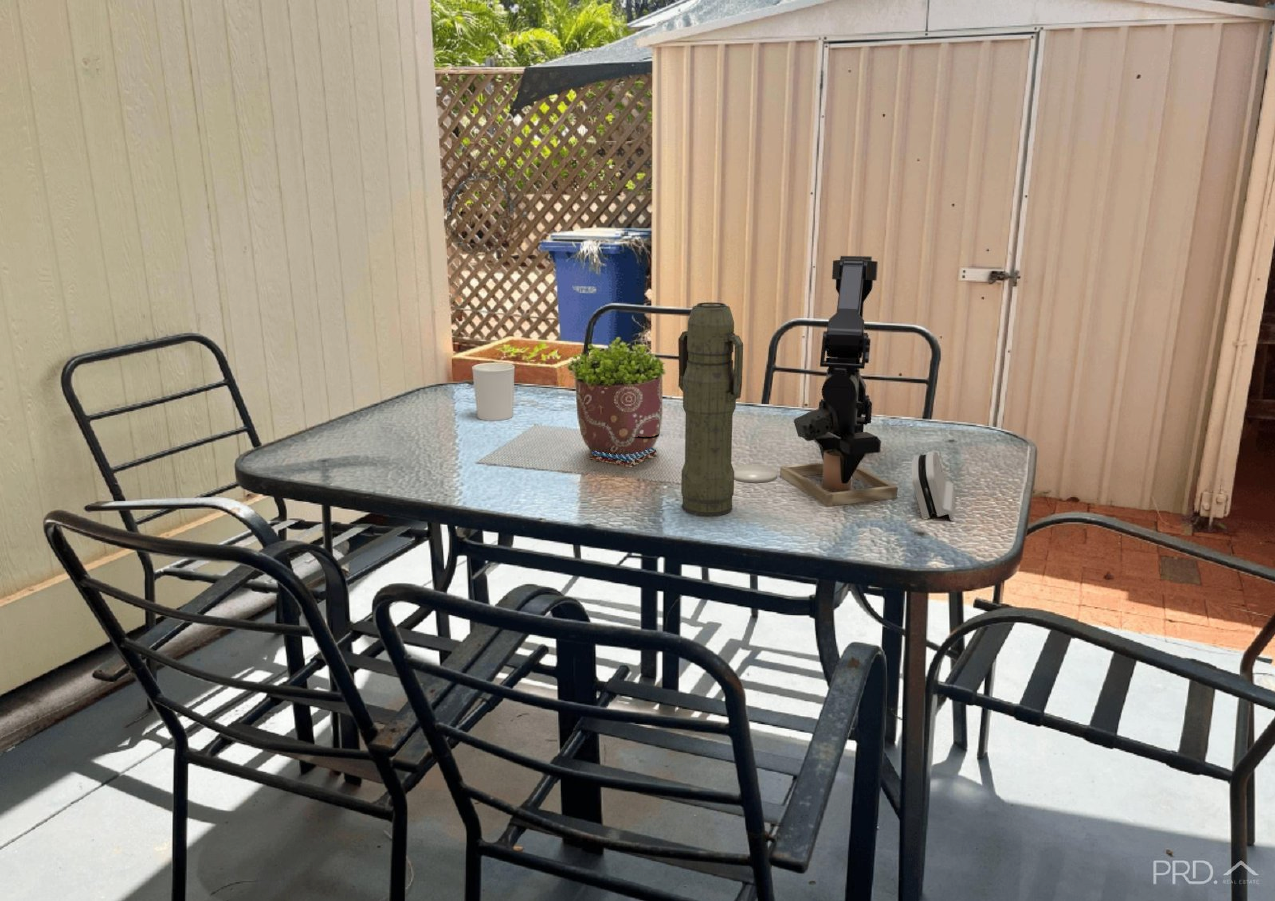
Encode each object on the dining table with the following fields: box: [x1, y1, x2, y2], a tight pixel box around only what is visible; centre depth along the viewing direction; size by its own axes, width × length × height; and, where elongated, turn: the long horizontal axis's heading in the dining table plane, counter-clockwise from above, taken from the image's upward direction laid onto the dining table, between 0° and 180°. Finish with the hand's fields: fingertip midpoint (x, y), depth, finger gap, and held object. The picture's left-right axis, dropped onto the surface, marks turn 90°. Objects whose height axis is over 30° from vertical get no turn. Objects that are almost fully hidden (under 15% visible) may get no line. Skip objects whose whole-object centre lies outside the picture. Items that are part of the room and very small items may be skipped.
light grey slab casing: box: [911, 451, 957, 520], centre depth 172 cm, size 17×5×10 cm, turn 162°
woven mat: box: [590, 447, 658, 468], centre depth 201 cm, size 10×11×2 cm
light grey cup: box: [471, 362, 516, 422], centre depth 232 cm, size 10×10×12 cm
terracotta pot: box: [821, 449, 852, 492], centre depth 181 cm, size 5×5×6 cm
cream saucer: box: [732, 464, 778, 484], centre depth 189 cm, size 9×9×1 cm
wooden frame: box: [779, 461, 899, 507], centre depth 182 cm, size 14×18×2 cm
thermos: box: [677, 301, 744, 517], centre depth 166 cm, size 9×12×35 cm
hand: (836, 478), depth 182 cm, fingers closed on terracotta pot, 5 cm apart
